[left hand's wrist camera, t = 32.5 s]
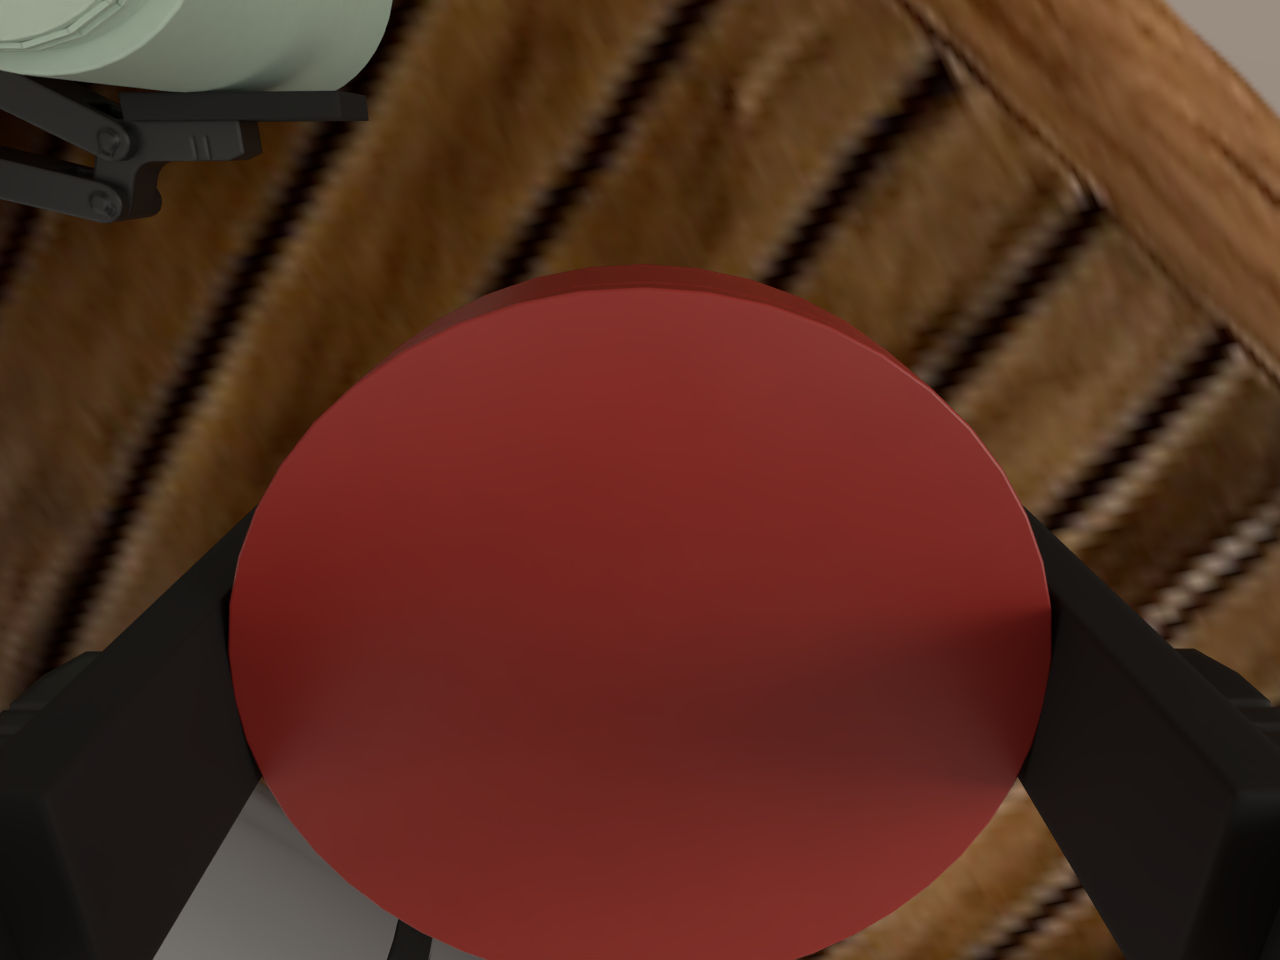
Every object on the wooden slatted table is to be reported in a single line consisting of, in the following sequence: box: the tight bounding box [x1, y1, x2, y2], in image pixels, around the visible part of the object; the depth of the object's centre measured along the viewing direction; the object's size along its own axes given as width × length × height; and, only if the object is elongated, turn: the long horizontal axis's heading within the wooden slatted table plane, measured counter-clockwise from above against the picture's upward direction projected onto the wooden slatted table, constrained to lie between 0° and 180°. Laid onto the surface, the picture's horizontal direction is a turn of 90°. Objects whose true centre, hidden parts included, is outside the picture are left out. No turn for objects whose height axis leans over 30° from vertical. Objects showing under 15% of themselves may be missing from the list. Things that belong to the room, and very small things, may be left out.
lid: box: [228, 264, 1052, 960], centre depth 11 cm, size 10×10×2 cm
